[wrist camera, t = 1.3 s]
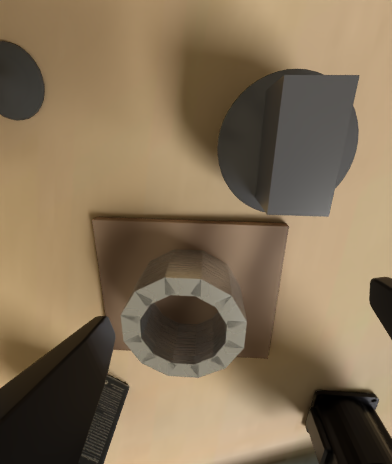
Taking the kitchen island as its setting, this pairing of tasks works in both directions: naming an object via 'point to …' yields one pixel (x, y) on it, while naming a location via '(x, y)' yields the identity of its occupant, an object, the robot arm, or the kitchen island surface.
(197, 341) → the toothed hollow cylinder
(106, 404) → the box
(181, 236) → the stand
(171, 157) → the kitchen island surface
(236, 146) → the lens cap
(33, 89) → the sundae
